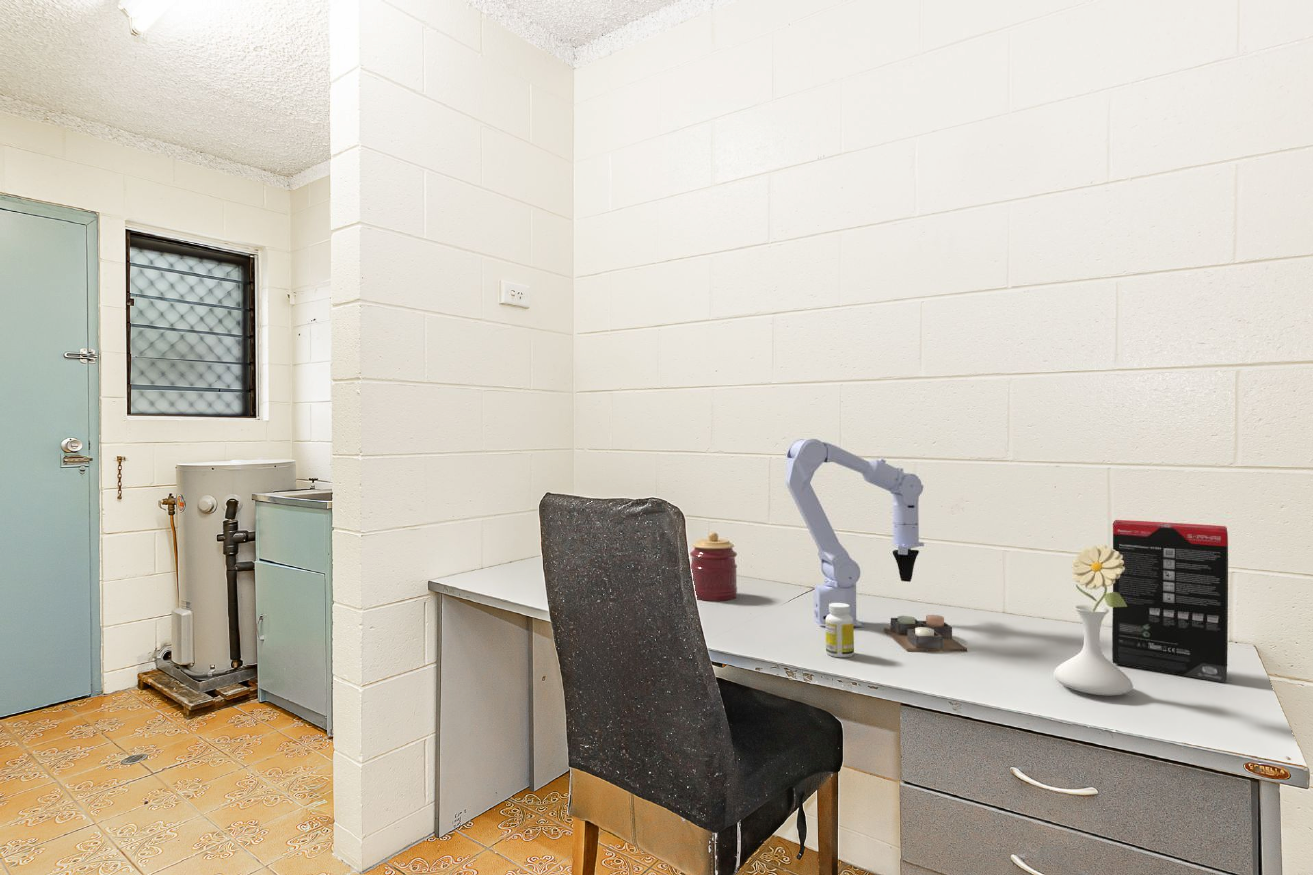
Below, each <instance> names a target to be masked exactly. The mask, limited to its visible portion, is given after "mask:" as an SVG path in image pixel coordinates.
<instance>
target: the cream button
mask: <svg viewBox="0 0 1313 875" xmlns="http://www.w3.org/2000/svg"><path fill="white" fill-rule="evenodd" d="M915 634H916V635H917V636H934V630H933V629H931V628H926V627H917V628H915Z"/></svg>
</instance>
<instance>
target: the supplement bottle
mask: <svg viewBox="0 0 1313 875" xmlns="http://www.w3.org/2000/svg"><path fill="white" fill-rule="evenodd" d="M849 611H850V606H849V605H848V604H845V603H831V604H829V612H830V614H829V615H827V617H826V626H825V652H826V654H827V655H828V656H831V657H834V658H841V659H842V658H844V659H845V658H851V657H852V656H854V654H855V649H854V648H855V642H854V641H855V637H854V636H855V635H854V632H855V629H854V627H855V626H853V618H852V617H851V616H850V615H848V613H850V612H849Z"/></svg>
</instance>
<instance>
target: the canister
mask: <svg viewBox="0 0 1313 875" xmlns="http://www.w3.org/2000/svg"><path fill="white" fill-rule="evenodd" d="M692 547H694V549H693V550H692V551H690V553H689V555H690V556H691V564H690V565H691V567H690V570H691V569H692V573H693V581H694V585H695V591H696V595H697V600H702V601H712V602H713V601H715V602H716V601H719V602H720V601H729V600H733V599H735V598H736V597H737V593H738V586H737V567H738V564H736V557H737V556H738V553H737V552H736V551H735V550H734V549H733V548H734V547H735V545H734V544H733V543H731V542H730V541H729V540H727V539H723V538H719V535H718V533H716V532H714V531H713V532H710V533H709V535H708V538H702V539H698V541H696V542H695V543H693V544H692Z"/></svg>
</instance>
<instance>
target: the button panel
mask: <svg viewBox="0 0 1313 875" xmlns="http://www.w3.org/2000/svg"><path fill="white" fill-rule="evenodd" d="M917 627H926V628H931V629H933V630H934V636H917V635H916V634H915V628H917ZM883 632H884V633H886V634H887V635H888V636H889V637H890V638H891V639H893V640H894V642H896V643H897V644H898V645H899V646H901V647H902V648H903V649H904V650H905V651H907V652H953V653H954V652H957V653H958V652H960V653H961V652H966V653H967V652H968V648H967V647H966V646H964V645H963V644H961V643H960V642H959V641H957V640H956V639H954V638H953V627H952V625H950V624H948V623H947V622H945V621H944V627H928V626H927V625H926V620H918V619H917V618H915V624H907V623H898V617H890V628H888V627H886V628H885V627H884V628H883Z"/></svg>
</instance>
